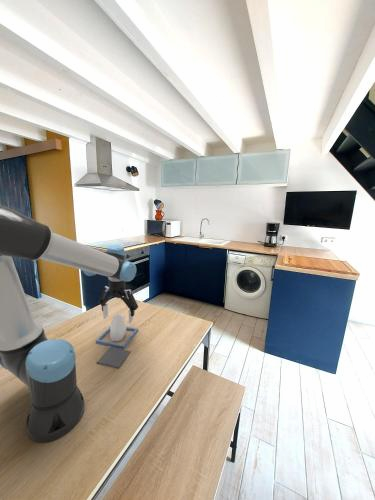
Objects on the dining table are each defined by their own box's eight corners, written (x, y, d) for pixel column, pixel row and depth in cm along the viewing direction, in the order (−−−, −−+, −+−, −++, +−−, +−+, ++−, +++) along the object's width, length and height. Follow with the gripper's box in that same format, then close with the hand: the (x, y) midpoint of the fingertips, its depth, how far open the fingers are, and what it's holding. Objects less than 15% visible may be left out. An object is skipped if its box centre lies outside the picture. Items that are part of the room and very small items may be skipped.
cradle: (123, 349, 95) (123, 346, 95) (95, 343, 98) (95, 340, 98) (137, 331, 109) (137, 328, 109) (113, 326, 112) (113, 323, 112)
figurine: (127, 333, 107) (127, 312, 104) (121, 342, 99) (121, 320, 97) (114, 331, 107) (114, 310, 105) (107, 341, 100) (106, 318, 97)
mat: (118, 368, 84) (118, 367, 84) (96, 363, 86) (96, 362, 86) (130, 352, 94) (130, 350, 93) (110, 347, 96) (110, 346, 95)
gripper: (145, 279, 98) (145, 319, 103) (98, 273, 103) (100, 311, 108) (138, 285, 91) (138, 328, 96) (88, 278, 96) (90, 319, 101)
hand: (118, 319), depth 102 cm, fingers open, 13 cm apart
